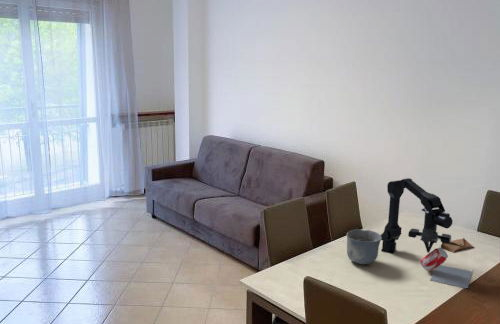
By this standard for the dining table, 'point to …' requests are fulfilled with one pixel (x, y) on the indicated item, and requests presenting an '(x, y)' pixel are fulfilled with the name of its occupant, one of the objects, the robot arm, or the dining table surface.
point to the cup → (363, 246)
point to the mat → (451, 276)
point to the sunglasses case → (456, 245)
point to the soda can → (434, 259)
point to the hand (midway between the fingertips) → (428, 252)
